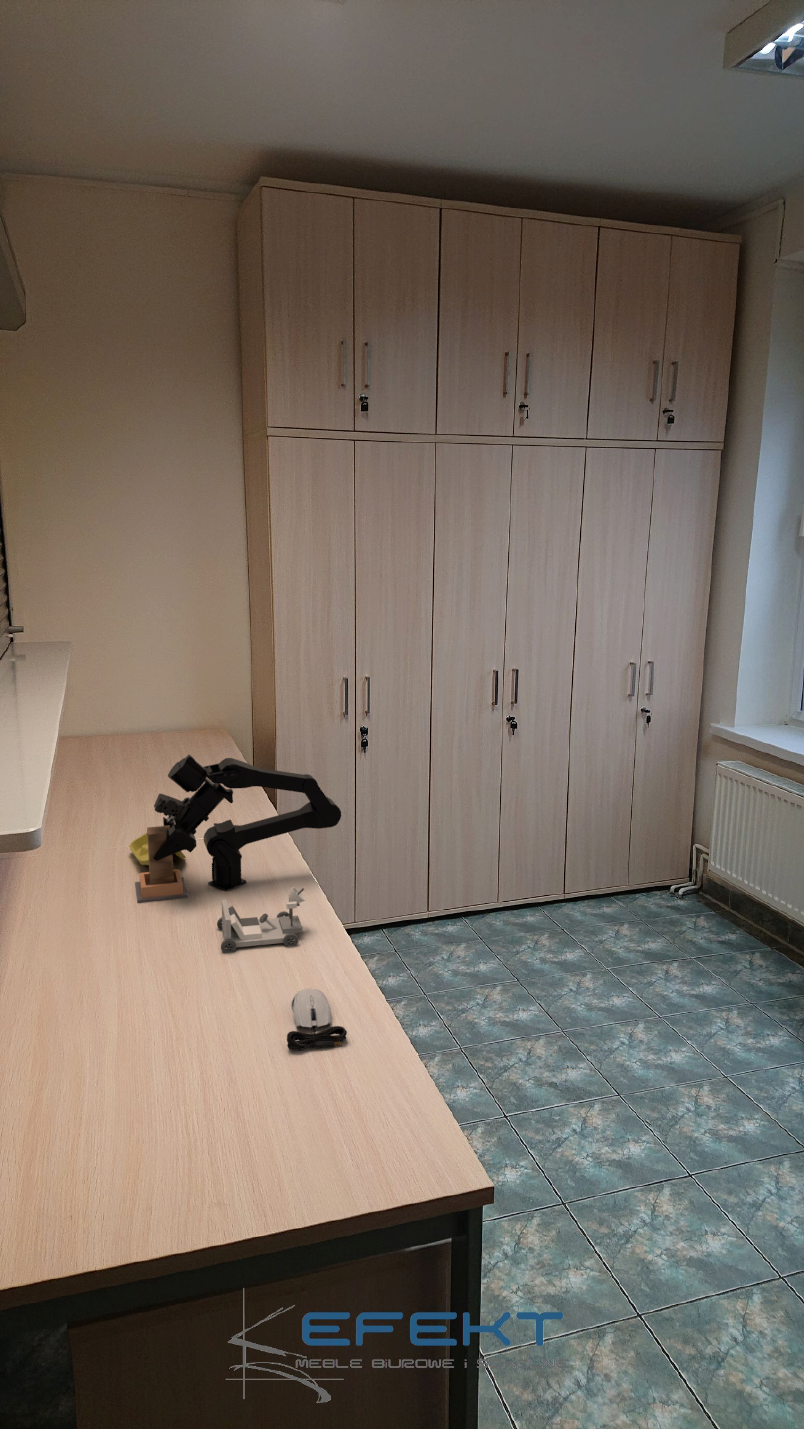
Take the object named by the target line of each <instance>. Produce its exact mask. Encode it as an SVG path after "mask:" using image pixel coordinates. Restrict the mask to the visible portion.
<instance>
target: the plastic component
mask: <svg viewBox="0 0 804 1429" xmlns="http://www.w3.org/2000/svg"><path fill="white" fill-rule="evenodd" d="M128 847H129V849H130V851H131V852H132V854H133V856H134V858H136V859H137V861H138V862H139V864H140V865H141V866H149V857H148V838H147V832H145V833H144V834H142V835H141V836H139V837H137V838H136V839H134V840H133V841H131V842H130V844H128ZM174 854H175V855H176V856H177V857H178V858H179V859H181V860H184V859H186V858H187V857H186V856H185V855H184V853H183V852H182V851H180V852H177V853H174ZM174 865H175V864H174V863H173V866H174Z"/></svg>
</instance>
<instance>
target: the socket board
mask: <svg viewBox="0 0 804 1429" xmlns="http://www.w3.org/2000/svg"><path fill="white" fill-rule="evenodd" d="M138 877H139V881H135V882H134V885H135V887H134V888H135V892H136V893H135V895H136V900H137V904H139V903H140V904H141V903H149V902H150V903H152V902H159V901H167V900H178V899H180V900H181V899H187V898H189V894H188V889H187V886H186V883H185V877H183V876H182V875H181V872H180V869H179V868H178V869H173V877H174V883H166V884H156V885H151V884H150V875H149V871H146V872H139V876H138Z"/></svg>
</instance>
